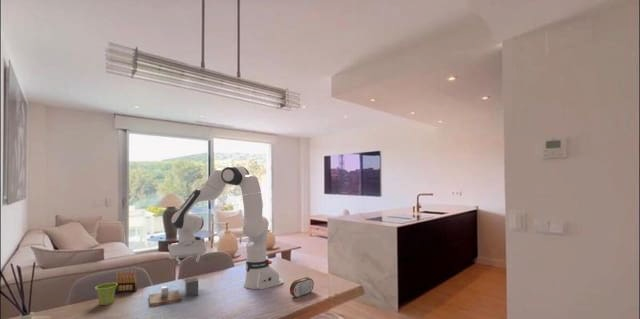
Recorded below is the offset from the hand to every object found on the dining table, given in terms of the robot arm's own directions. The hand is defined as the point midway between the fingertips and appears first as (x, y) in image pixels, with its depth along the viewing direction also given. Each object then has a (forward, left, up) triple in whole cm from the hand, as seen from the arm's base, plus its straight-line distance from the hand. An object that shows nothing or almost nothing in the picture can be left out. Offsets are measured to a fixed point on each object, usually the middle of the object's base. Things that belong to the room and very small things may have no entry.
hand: (188, 262), depth 186 cm
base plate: (+13, +13, -14) cm, 23 cm away
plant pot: (+39, +3, -14) cm, 42 cm away
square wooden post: (+13, +13, -13) cm, 22 cm away
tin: (-51, +43, -14) cm, 68 cm away
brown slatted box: (+31, -11, -14) cm, 36 cm away
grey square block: (0, +12, -14) cm, 19 cm away
